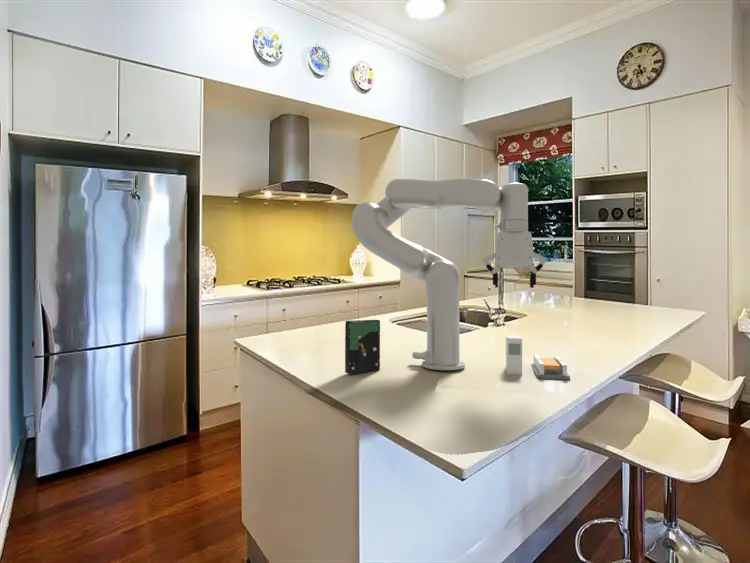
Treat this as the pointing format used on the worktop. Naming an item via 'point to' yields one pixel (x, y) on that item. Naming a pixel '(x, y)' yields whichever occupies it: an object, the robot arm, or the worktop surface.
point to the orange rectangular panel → (550, 363)
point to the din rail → (550, 370)
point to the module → (514, 354)
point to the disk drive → (362, 346)
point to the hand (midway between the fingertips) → (513, 287)
